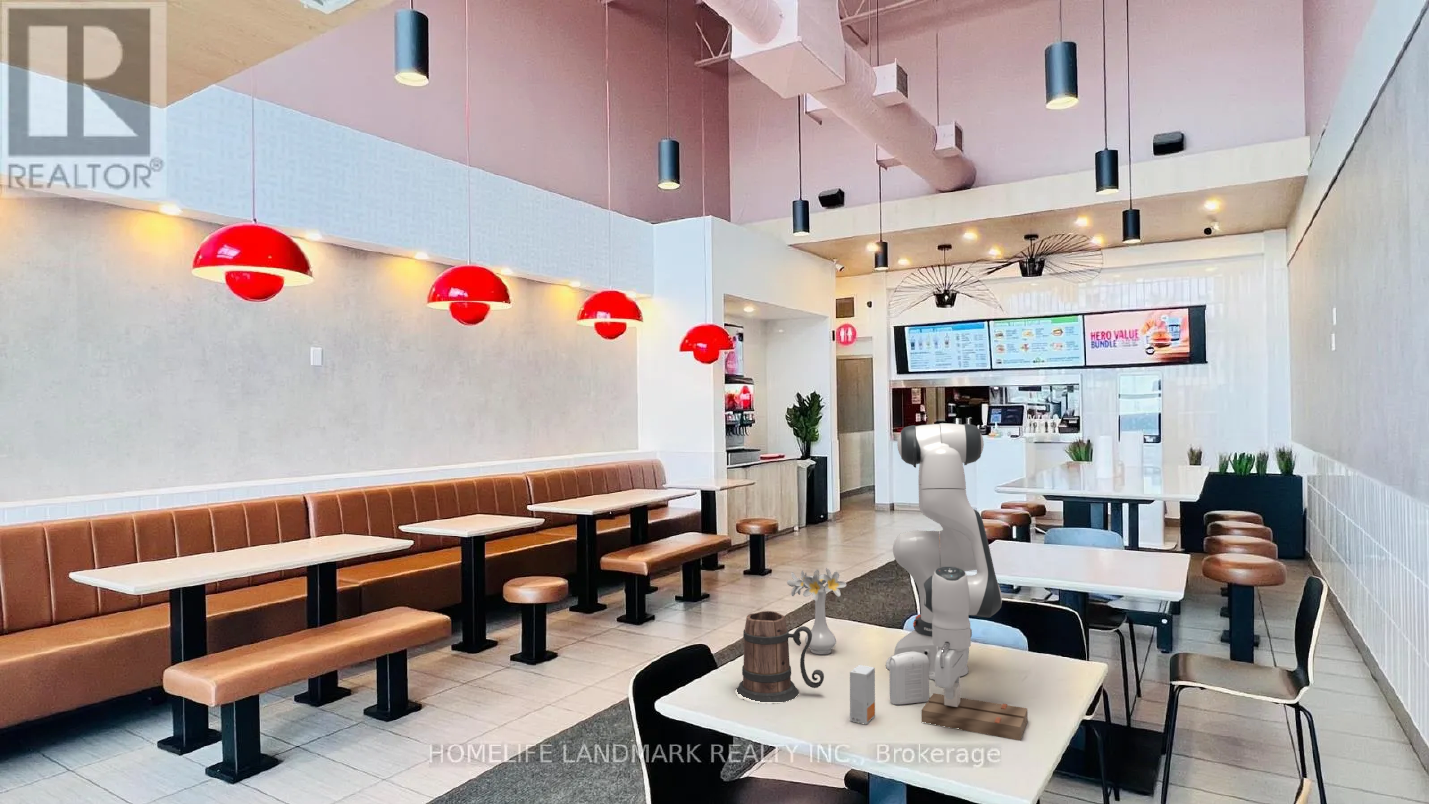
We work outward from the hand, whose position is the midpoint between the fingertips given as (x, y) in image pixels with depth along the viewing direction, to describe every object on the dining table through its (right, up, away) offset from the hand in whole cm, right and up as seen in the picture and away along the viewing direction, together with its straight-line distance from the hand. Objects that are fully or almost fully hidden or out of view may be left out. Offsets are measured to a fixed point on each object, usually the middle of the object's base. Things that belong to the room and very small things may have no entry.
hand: (952, 694), depth 190 cm
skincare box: (-21, -6, 0) cm, 22 cm away
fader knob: (0, -4, 0) cm, 4 cm away
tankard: (-40, -7, +18) cm, 44 cm away
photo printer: (-8, -6, +11) cm, 15 cm away
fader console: (+5, -6, -2) cm, 8 cm away
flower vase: (-25, -6, +51) cm, 58 cm away
